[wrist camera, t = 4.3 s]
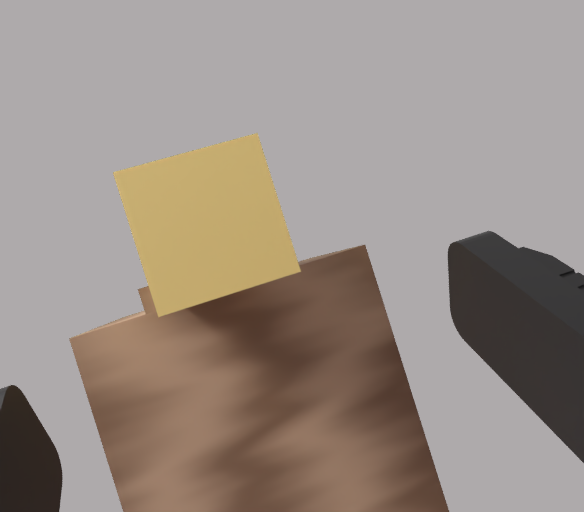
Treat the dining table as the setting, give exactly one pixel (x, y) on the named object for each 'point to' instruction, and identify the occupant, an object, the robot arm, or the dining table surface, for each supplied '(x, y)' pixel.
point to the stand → (262, 400)
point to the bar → (206, 223)
